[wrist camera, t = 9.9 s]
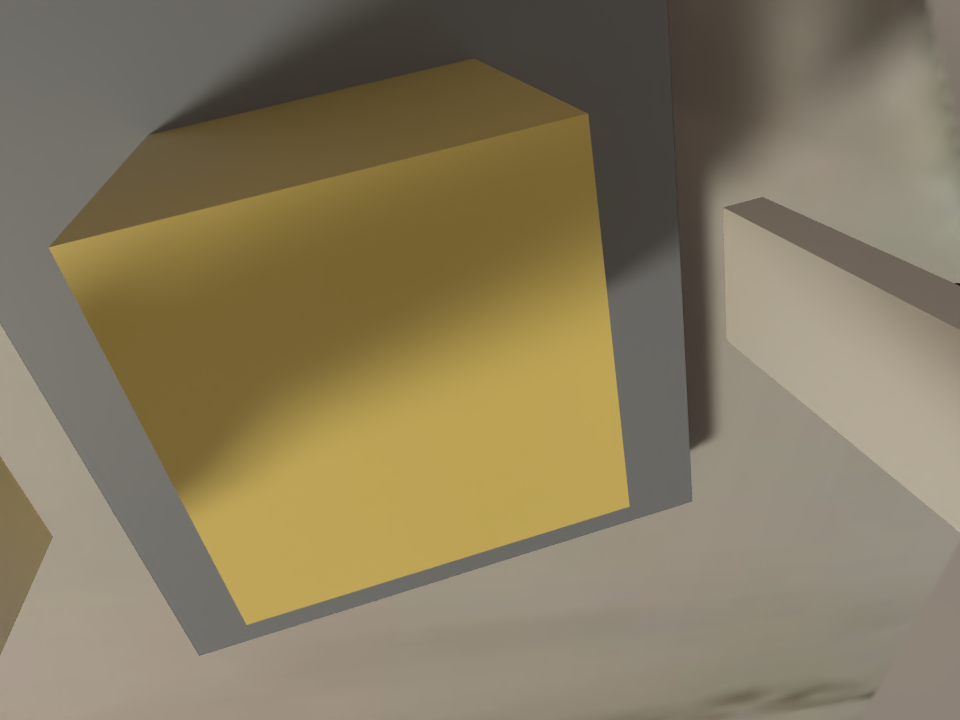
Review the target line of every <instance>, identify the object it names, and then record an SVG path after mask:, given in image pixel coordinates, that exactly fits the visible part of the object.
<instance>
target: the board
mask: <svg viewBox="0 0 960 720" xmlns="http://www.w3.org/2000/svg"><path fill="white" fill-rule="evenodd" d="M473 58H475V59H477V60H479V61H481V62H483V63H485V64H487V65H489V66H491V67H493V68H495V69H497V70H499V71H501V72H503V73H506V74H508V75H510V76H512V77H514V78H516V79H518V80H520V81H522V82H524V83H526V84H528V85H530V86H532V87H534V88H536V89H538V90H540V91H543V92H545V93H547V94H549V95H551V96H553V97H555V98H557V99H559V100H561V101H563V102H565V103H567V104H569V105H571V106H573V107H575V108H578V109H580V110H582V111H584V112H586V113H588V117H589V126H590V136H591V145H592V155H593V164H594V173H595V183H596V192H597V202H598V211H599V221H600V230H601V240H602V249H603V259H604V268H605V278H606V287H607V296H608V306H609V315H610V325H611V334H612V344H613V353H614V363H615V372H616V382H617V391H618V401H619V410H620V420H621V429H622V438H623V448H624V457H625V467H626V476H627V486H628V495H629V505H630V507H627V508H624V509H620V510H617V511H614V512H611V513H608V514H604V515H601V516H598V517H595V518H591V519H588V520H585V521H582V522H578V523H575V524H572V525H569V526H566V527H562V528H559V529H556V530H553V531H549V532H546V533H543V534H540V535H536V536H533V537H530V538H527V539H523V540H520V541H517V542H514V543H511V544H507V545H504V546H501V547H498V548H494V549H491V550H488V551H485V552H481V553H478V554H475V555H472V556H468V557H465V558H462V559H459V560H456V561H452V562H449V563H446V564H443V565H439V566H436V567H433V568H430V569H426V570H423V571H420V572H417V573H413V574H410V575H407V576H404V577H401V578H397V579H394V580H391V581H388V582H384V583H381V584H378V585H375V586H371V587H368V588H365V589H362V590H358V591H355V592H352V593H349V594H346V595H342V596H339V597H336V598H333V599H329V600H326V601H323V602H320V603H316V604H313V605H310V606H307V607H303V608H300V609H297V610H294V611H291V612H287V613H284V614H281V615H278V616H274V617H271V618H268V619H265V620H261V621H258V622H255V623H252V624H249V625H246V623H245V621H244V619H243V617H242V615H241V614H240V612H239V610H238V608H237V606H236V604H235V602H234V600H233V598H232V596H231V594H230V593H229V591H228V589H227V587H226V585H225V583H224V581H223V579H222V577H221V575H220V573H219V572H218V570H217V568H216V566H215V564H214V562H213V560H212V558H211V556H210V554H209V553H208V551H207V549H206V547H205V545H204V543H203V541H202V539H201V537H200V535H199V533H198V532H197V530H196V528H195V526H194V524H193V522H192V520H191V518H190V516H189V514H188V512H187V511H186V509H185V507H184V505H183V503H182V501H181V499H180V497H179V495H178V493H177V491H176V490H175V488H174V486H173V484H172V482H171V480H170V478H169V476H168V474H167V472H166V471H165V469H164V467H163V465H162V463H161V461H160V459H159V457H158V455H157V453H156V451H155V450H154V448H153V446H152V444H151V442H150V440H149V438H148V436H147V434H146V432H145V430H144V429H143V427H142V425H141V423H140V421H139V419H138V417H137V415H136V413H135V411H134V409H133V408H132V406H131V404H130V402H129V400H128V398H127V396H126V394H125V392H124V390H123V389H122V387H121V385H120V383H119V381H118V379H117V377H116V375H115V373H114V371H113V369H112V368H111V366H110V364H109V362H108V360H107V358H106V356H105V354H104V352H103V350H102V348H101V347H100V345H99V343H98V341H97V339H96V337H95V335H94V333H93V331H92V329H91V327H90V326H89V324H88V322H87V320H86V318H85V316H84V314H83V312H82V310H81V308H80V307H79V305H78V303H77V301H76V299H75V297H74V295H73V293H72V291H71V289H70V287H69V286H68V284H67V282H66V280H65V278H64V276H63V274H62V272H61V270H60V268H59V266H58V265H57V263H56V261H55V259H54V257H53V255H52V253H51V251H50V249H49V246H50V245H51V244H52V243H53V242H54V241H55V240H56V238H57V237H58V236H59V235H60V234H61V233H62V232H63V231H64V229H65V228H66V227H67V226H68V225H69V224H70V223H71V221H72V220H73V219H74V218H75V217H76V216H77V215H78V214H79V212H80V211H81V210H82V209H83V208H84V207H85V206H86V204H87V203H88V202H89V201H90V200H91V199H92V198H93V197H94V195H95V194H96V193H97V192H98V191H99V190H100V189H101V188H102V186H103V185H104V184H105V183H106V182H107V181H108V180H109V178H110V177H111V176H112V175H113V174H114V173H115V172H116V171H117V169H118V168H119V167H120V166H121V165H122V164H123V163H124V161H125V160H126V159H127V158H128V157H129V156H130V155H131V154H132V152H133V151H134V150H135V149H136V148H137V147H138V146H139V145H140V143H141V142H142V141H143V140H144V139H145V138H146V137H147V135H151V134H155V133H159V132H163V131H168V130H172V129H176V128H180V127H185V126H189V125H193V124H197V123H202V122H206V121H210V120H214V119H219V118H223V117H227V116H231V115H236V114H240V113H244V112H248V111H253V110H257V109H261V108H265V107H270V106H274V105H278V104H282V103H287V102H291V101H295V100H299V99H304V98H308V97H312V96H316V95H321V94H325V93H329V92H333V91H338V90H342V89H346V88H350V87H355V86H359V85H363V84H367V83H372V82H376V81H380V80H384V79H389V78H393V77H397V76H401V75H406V74H410V73H414V72H418V71H423V70H427V69H431V68H435V67H440V66H444V65H448V64H452V63H456V62H461V61H465V60H469V59H473ZM0 324H1V326H2V327H3V329H4V331H5V332H6V334H7V336H8V337H9V339H10V341H11V342H12V344H13V346H14V347H15V349H16V351H17V352H18V354H19V356H20V357H21V359H22V361H23V362H24V364H25V366H26V367H27V369H28V371H29V372H30V374H31V376H32V377H33V379H34V381H35V382H36V384H37V386H38V387H39V389H40V391H41V392H42V394H43V396H44V398H45V399H46V401H47V403H48V404H49V406H50V408H51V409H52V411H53V413H54V414H55V416H56V418H57V419H58V421H59V423H60V424H61V426H62V428H63V429H64V431H65V433H66V434H67V436H68V438H69V439H70V441H71V443H72V444H73V446H74V448H75V449H76V451H77V453H78V454H79V456H80V458H81V459H82V461H83V463H84V464H85V466H86V468H87V469H88V471H89V473H90V474H91V476H92V478H93V479H94V481H95V483H96V484H97V486H98V488H99V489H100V491H101V493H102V494H103V496H104V498H105V499H106V501H107V503H108V504H109V506H110V508H111V509H112V511H113V513H114V514H115V516H116V518H117V519H118V521H119V523H120V524H121V526H122V528H123V529H124V531H125V533H126V534H127V536H128V538H129V539H130V541H131V543H132V544H133V546H134V548H135V549H136V551H137V553H138V554H139V556H140V558H141V560H142V561H143V563H144V565H145V566H146V568H147V570H148V571H149V573H150V575H151V576H152V578H153V580H154V581H155V583H156V585H157V586H158V588H159V590H160V591H161V593H162V595H163V596H164V598H165V600H166V601H167V603H168V605H169V606H170V608H171V610H172V611H173V613H174V615H175V616H176V618H177V620H178V621H179V623H180V625H181V626H182V628H183V630H184V631H185V633H186V635H187V636H188V638H189V640H190V641H191V643H192V645H193V646H194V648H195V650H196V651H197V653H198V655H199V656H200V655H203V654H207V653H210V652H213V651H216V650H219V649H223V648H226V647H229V646H232V645H235V644H238V643H242V642H245V641H248V640H251V639H254V638H258V637H261V636H264V635H267V634H270V633H274V632H277V631H280V630H283V629H286V628H290V627H293V626H296V625H299V624H302V623H305V622H309V621H312V620H315V619H318V618H321V617H325V616H328V615H331V614H334V613H337V612H341V611H344V610H347V609H350V608H353V607H357V606H360V605H363V604H366V603H369V602H372V601H376V600H379V599H382V598H385V597H388V596H392V595H395V594H398V593H401V592H404V591H408V590H411V589H414V588H417V587H420V586H424V585H427V584H430V583H433V582H436V581H439V580H443V579H446V578H449V577H452V576H455V575H459V574H462V573H465V572H468V571H471V570H475V569H478V568H481V567H484V566H487V565H491V564H494V563H497V562H500V561H503V560H506V559H510V558H513V557H516V556H519V555H522V554H526V553H529V552H532V551H535V550H538V549H542V548H545V547H548V546H551V545H554V544H558V543H561V542H564V541H567V540H570V539H573V538H577V537H580V536H583V535H586V534H589V533H593V532H596V531H599V530H602V529H605V528H609V527H612V526H615V525H618V524H621V523H625V522H628V521H631V520H634V519H637V518H640V517H644V516H647V515H650V514H653V513H656V512H660V511H663V510H666V509H669V508H672V507H676V506H679V505H682V504H685V503H688V502H692V485H691V465H690V445H689V425H688V405H687V385H686V365H685V345H684V324H683V304H682V284H681V264H680V244H679V224H678V204H677V184H676V164H675V144H674V124H673V104H672V84H671V64H670V44H669V24H668V4H667V0H0Z"/></svg>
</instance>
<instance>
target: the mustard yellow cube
mask: <svg viewBox="0 0 960 720" xmlns="http://www.w3.org/2000/svg"><path fill="white" fill-rule="evenodd" d="M49 249H50V251H51V253H52V255H53V257H54V259H55V261H56V263H57V265H58V266H59V268H60V270H61V272H62V274H63V276H64V278H65V280H66V282H67V284H68V286H69V287H70V289H71V291H72V293H73V295H74V297H75V299H76V301H77V303H78V305H79V307H80V308H81V310H82V312H83V314H84V316H85V318H86V320H87V322H88V324H89V326H90V327H91V329H92V331H93V333H94V335H95V337H96V339H97V341H98V343H99V345H100V347H101V348H102V350H103V352H104V354H105V356H106V358H107V360H108V362H109V364H110V366H111V368H112V369H113V371H114V373H115V375H116V377H117V379H118V381H119V383H120V385H121V387H122V389H123V390H124V392H125V394H126V396H127V398H128V400H129V402H130V404H131V406H132V408H133V409H134V411H135V413H136V415H137V417H138V419H139V421H140V423H141V425H142V427H143V429H144V430H145V432H146V434H147V436H148V438H149V440H150V442H151V444H152V446H153V448H154V450H155V451H156V453H157V455H158V457H159V459H160V461H161V463H162V465H163V467H164V469H165V471H166V472H167V474H168V476H169V478H170V480H171V482H172V484H173V486H174V488H175V490H176V491H177V493H178V495H179V497H180V499H181V501H182V503H183V505H184V507H185V509H186V511H187V512H188V514H189V516H190V518H191V520H192V522H193V524H194V526H195V528H196V530H197V532H198V533H199V535H200V537H201V539H202V541H203V543H204V545H205V547H206V549H207V551H208V553H209V554H210V556H211V558H212V560H213V562H214V564H215V566H216V568H217V570H218V572H219V573H220V575H221V577H222V579H223V581H224V583H225V585H226V587H227V589H228V591H229V593H230V594H231V596H232V598H233V600H234V602H235V604H236V606H237V608H238V610H239V612H240V614H241V615H242V617H243V619H244V621H245V623H246V625H249V624H252V623H255V622H258V621H261V620H265V619H268V618H271V617H274V616H278V615H281V614H284V613H287V612H291V611H294V610H297V609H300V608H303V607H307V606H310V605H313V604H316V603H320V602H323V601H326V600H329V599H333V598H336V597H339V596H342V595H346V594H349V593H352V592H355V591H358V590H362V589H365V588H368V587H371V586H375V585H378V584H381V583H384V582H388V581H391V580H394V579H397V578H401V577H404V576H407V575H410V574H413V573H417V572H420V571H423V570H426V569H430V568H433V567H436V566H439V565H443V564H446V563H449V562H452V561H456V560H459V559H462V558H465V557H468V556H472V555H475V554H478V553H481V552H485V551H488V550H491V549H494V548H498V547H501V546H504V545H507V544H511V543H514V542H517V541H520V540H523V539H527V538H530V537H533V536H536V535H540V534H543V533H546V532H549V531H553V530H556V529H559V528H562V527H566V526H569V525H572V524H575V523H578V522H582V521H585V520H588V519H591V518H595V517H598V516H601V515H604V514H608V513H611V512H614V511H617V510H620V509H624V508H627V507H630V505H629V495H628V486H627V476H626V467H625V457H624V448H623V438H622V429H621V420H620V410H619V401H618V391H617V382H616V372H615V363H614V353H613V344H612V334H611V325H610V315H609V306H608V296H607V287H606V278H605V268H604V259H603V249H602V240H601V230H600V221H599V211H598V202H597V192H596V183H595V173H594V164H593V155H592V145H591V136H590V126H589V117H588V113H586V112H584V111H582V110H580V109H578V108H575V107H573V106H571V105H569V104H567V103H565V102H563V101H561V100H559V99H557V98H555V97H553V96H551V95H549V94H547V93H545V92H543V91H540V90H538V89H536V88H534V87H532V86H530V85H528V84H526V83H524V82H522V81H520V80H518V79H516V78H514V77H512V76H510V75H508V74H506V73H503V72H501V71H499V70H497V69H495V68H493V67H491V66H489V65H487V64H485V63H483V62H481V61H479V60H477V59H475V58H473V59H469V60H465V61H461V62H456V63H452V64H448V65H444V66H440V67H435V68H431V69H427V70H423V71H418V72H414V73H410V74H406V75H401V76H397V77H393V78H389V79H384V80H380V81H376V82H372V83H367V84H363V85H359V86H355V87H350V88H346V89H342V90H338V91H333V92H329V93H325V94H321V95H316V96H312V97H308V98H304V99H299V100H295V101H291V102H287V103H282V104H278V105H274V106H270V107H265V108H261V109H257V110H253V111H248V112H244V113H240V114H236V115H231V116H227V117H223V118H219V119H214V120H210V121H206V122H202V123H197V124H193V125H189V126H185V127H180V128H176V129H172V130H168V131H163V132H159V133H155V134H151V135H147V137H146V138H145V139H144V140H143V141H142V142H141V143H140V145H139V146H138V147H137V148H136V149H135V150H134V151H133V152H132V154H131V155H130V156H129V157H128V158H127V159H126V160H125V161H124V163H123V164H122V165H121V166H120V167H119V168H118V169H117V171H116V172H115V173H114V174H113V175H112V176H111V177H110V178H109V180H108V181H107V182H106V183H105V184H104V185H103V186H102V188H101V189H100V190H99V191H98V192H97V193H96V194H95V195H94V197H93V198H92V199H91V200H90V201H89V202H88V203H87V204H86V206H85V207H84V208H83V209H82V210H81V211H80V212H79V214H78V215H77V216H76V217H75V218H74V219H73V220H72V221H71V223H70V224H69V225H68V226H67V227H66V228H65V229H64V231H63V232H62V233H61V234H60V235H59V236H58V237H57V238H56V240H55V241H54V242H53V243H52V244H51V245H50V246H49Z"/></svg>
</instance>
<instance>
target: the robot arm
mask: <svg viewBox="0 0 960 720" xmlns="http://www.w3.org/2000/svg"><path fill="white" fill-rule="evenodd" d="M723 211H724V249H725V288H726V327H727V341H728V342H729V343H730V344H732V345H733V346H734V347H735V348H737V349H738V350H739V351H740V352H741V353H743V354H744V355H745V356H746V357H747V358H749V359H750V360H751V361H752V362H754V363H755V364H756V365H757V366H758V367H760V368H761V369H762V370H763V371H765V372H766V373H767V374H768V375H769V376H771V377H772V378H773V379H774V380H775V381H777V382H778V383H779V384H780V385H782V386H783V387H784V388H785V389H786V390H788V391H789V392H790V393H791V394H792V395H794V396H795V397H796V398H797V399H799V400H800V401H801V402H802V403H803V404H805V405H806V406H807V407H808V408H809V409H811V410H812V411H813V412H814V413H816V414H817V415H818V416H819V417H820V418H822V419H823V420H824V421H825V422H826V423H828V424H829V425H830V426H831V427H833V428H834V429H835V430H836V431H837V432H839V433H840V434H841V435H842V436H844V437H845V438H846V439H847V440H848V441H850V442H851V443H852V444H853V445H854V446H856V447H857V448H858V449H859V450H861V451H862V452H863V453H864V454H865V455H867V456H868V457H869V458H870V459H871V460H873V461H874V462H875V463H876V464H878V465H879V466H880V467H881V468H882V469H884V470H885V471H886V472H887V473H888V474H890V475H891V476H892V477H893V478H895V479H896V480H897V481H898V482H899V483H901V484H902V485H903V486H904V487H905V488H907V489H908V490H909V491H910V492H912V493H913V494H914V495H915V496H916V497H918V498H919V499H920V500H921V501H922V502H924V503H925V504H926V505H927V506H929V507H930V508H931V509H932V510H933V511H935V512H936V513H937V514H938V515H940V516H941V517H942V518H943V519H944V520H946V521H947V522H948V523H949V524H950V525H952V526H953V527H954V528H955V529H957V530H958V531H959V532H960V283H955V284H954V283H952V282H950V281H948V280H945V279H943V278H941V277H939V276H937V275H934V274H932V273H930V272H928V271H925V270H923V269H921V268H919V267H917V266H914V265H912V264H910V263H908V262H905V261H903V260H901V259H899V258H897V257H894V256H892V255H890V254H888V253H886V252H883V251H881V250H879V249H877V248H874V247H872V246H870V245H868V244H866V243H863V242H861V241H859V240H857V239H855V238H852V237H850V236H848V235H846V234H843V233H841V232H839V231H837V230H835V229H832V228H830V227H828V226H826V225H823V224H821V223H819V222H817V221H815V220H812V219H810V218H808V217H806V216H804V215H801V214H799V213H797V212H795V211H792V210H790V209H788V208H786V207H784V206H781V205H779V204H777V203H775V202H773V201H770V200H768V199H766V198H764V197H761V198H757V199H753V200H750V201H746V202H742V203H739V204H735V205H731V206H727V207H724V208H723ZM52 537H53V536H52V535H51V533H50V532H49V530H48V529H47V527H46V526H45V524H44V523H43V521H42V520H41V518H40V517H39V515H38V513H37V512H36V510H35V509H34V507H33V506H32V504H31V503H30V501H29V500H28V498H27V497H26V495H25V494H24V492H23V491H22V489H21V487H20V486H19V484H18V483H17V481H16V480H15V478H14V477H13V475H12V474H11V472H10V471H9V469H8V468H7V466H6V465H5V463H4V461H3V460H2V458H1V457H0V654H1V652H2V650H3V648H4V645H5V643H6V641H7V639H8V636H9V634H10V632H11V630H12V627H13V625H14V623H15V621H16V618H17V616H18V614H19V612H20V609H21V607H22V605H23V603H24V600H25V598H26V596H27V594H28V591H29V589H30V587H31V585H32V582H33V580H34V578H35V576H36V573H37V571H38V569H39V567H40V564H41V562H42V560H43V558H44V555H45V553H46V551H47V549H48V546H49V544H50V542H51V540H52Z"/></svg>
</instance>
